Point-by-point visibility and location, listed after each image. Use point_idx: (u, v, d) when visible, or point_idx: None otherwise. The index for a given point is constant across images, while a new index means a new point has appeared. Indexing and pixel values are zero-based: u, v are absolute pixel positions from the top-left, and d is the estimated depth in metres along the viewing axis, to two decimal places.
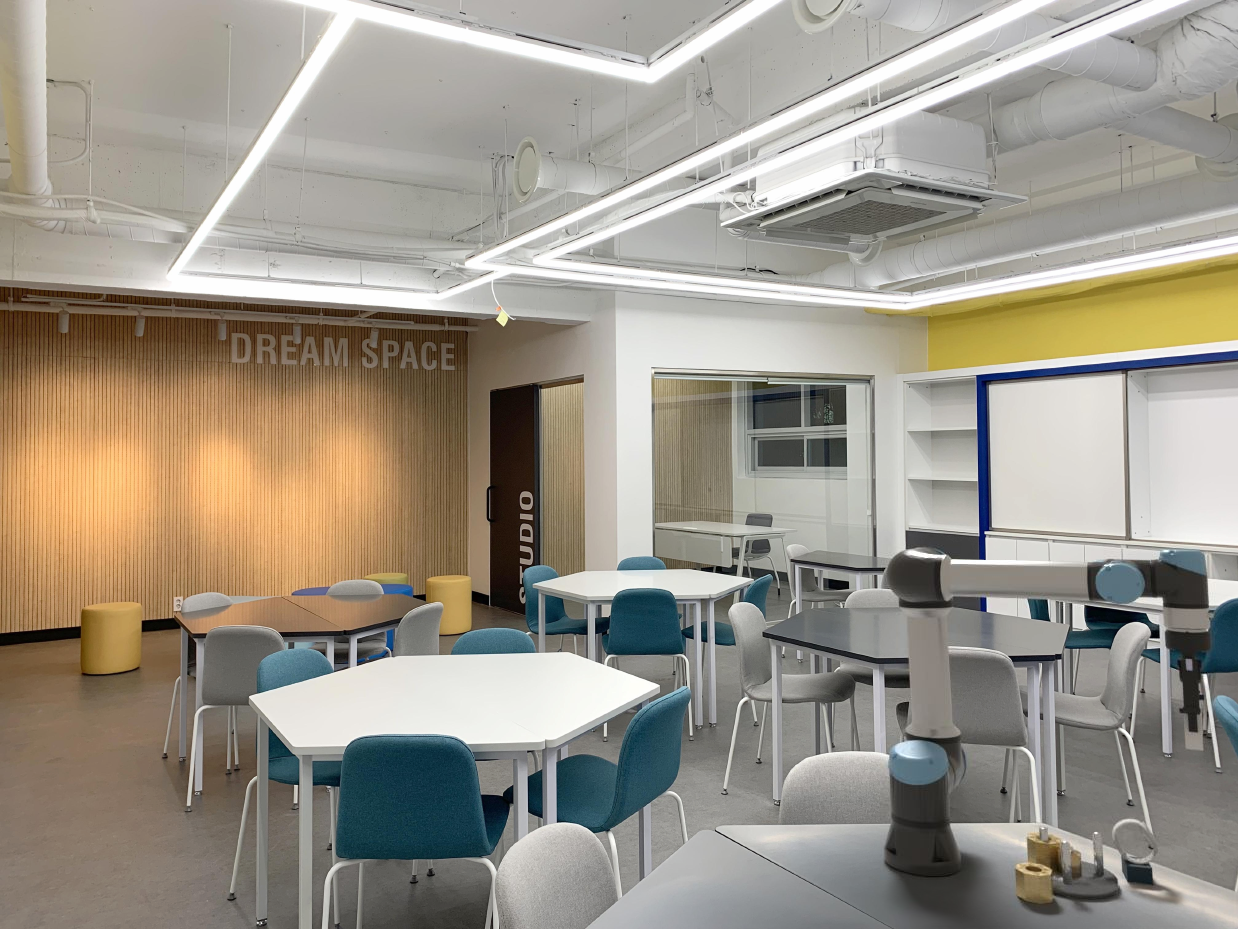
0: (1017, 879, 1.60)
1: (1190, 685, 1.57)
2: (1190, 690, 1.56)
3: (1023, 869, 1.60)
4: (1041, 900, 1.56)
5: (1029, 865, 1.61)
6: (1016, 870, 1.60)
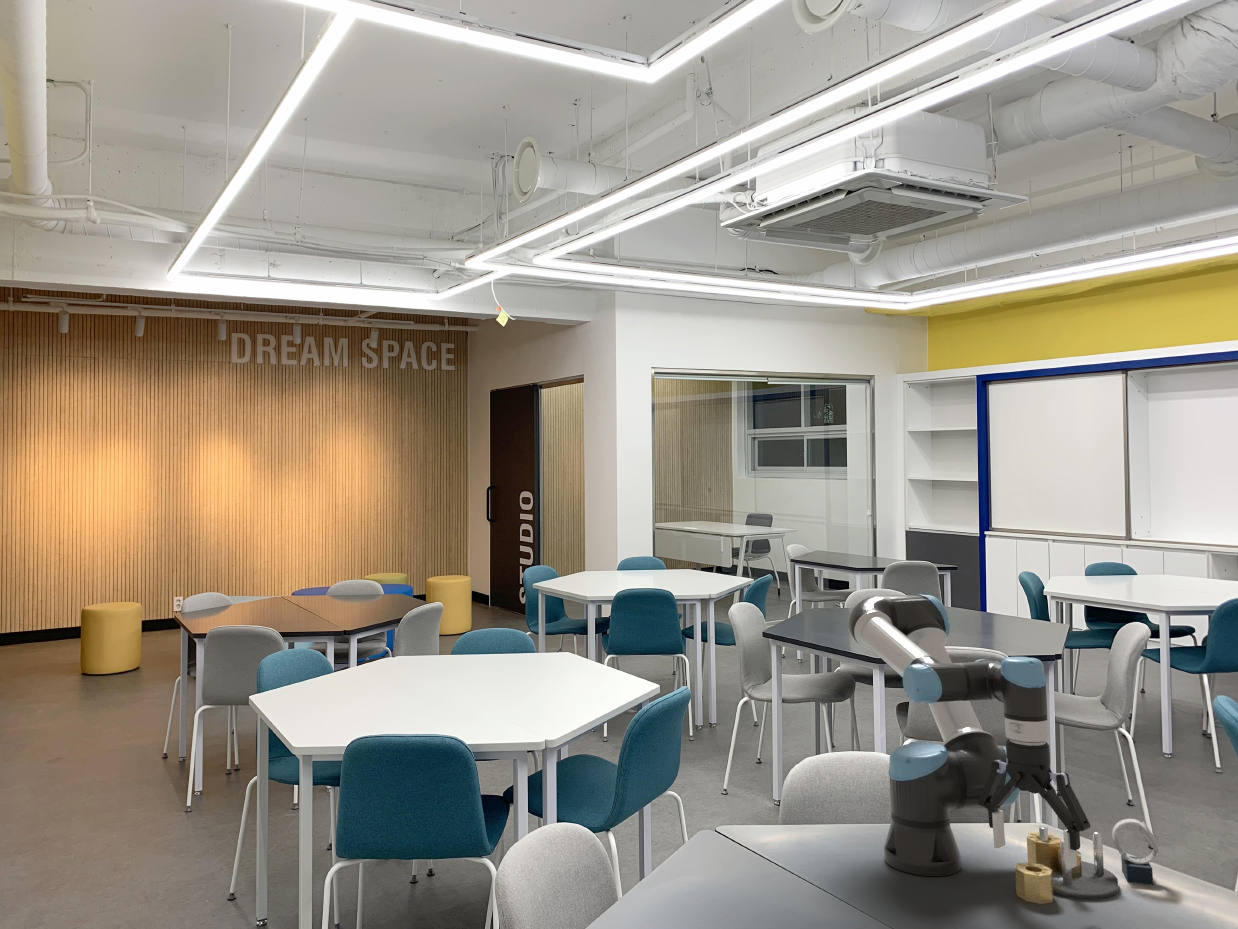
0: (1017, 879, 1.60)
1: None
2: None
3: (1023, 869, 1.60)
4: (1041, 900, 1.56)
5: (1029, 865, 1.61)
6: (1016, 870, 1.60)
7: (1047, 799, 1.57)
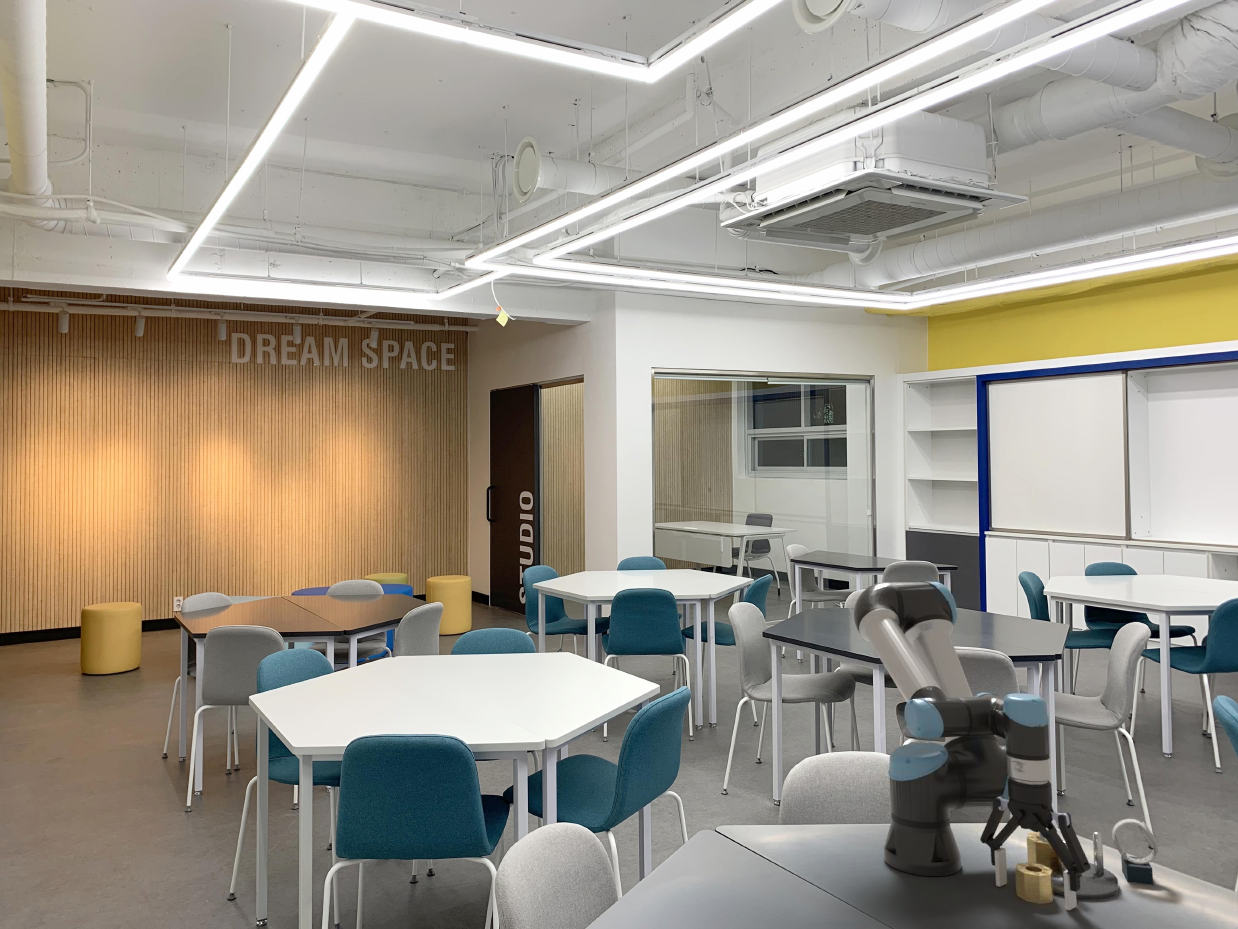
0: (1017, 879, 1.60)
1: None
2: None
3: (1023, 869, 1.60)
4: (1041, 900, 1.56)
5: (1029, 865, 1.61)
6: (1016, 870, 1.60)
7: (1048, 839, 1.56)
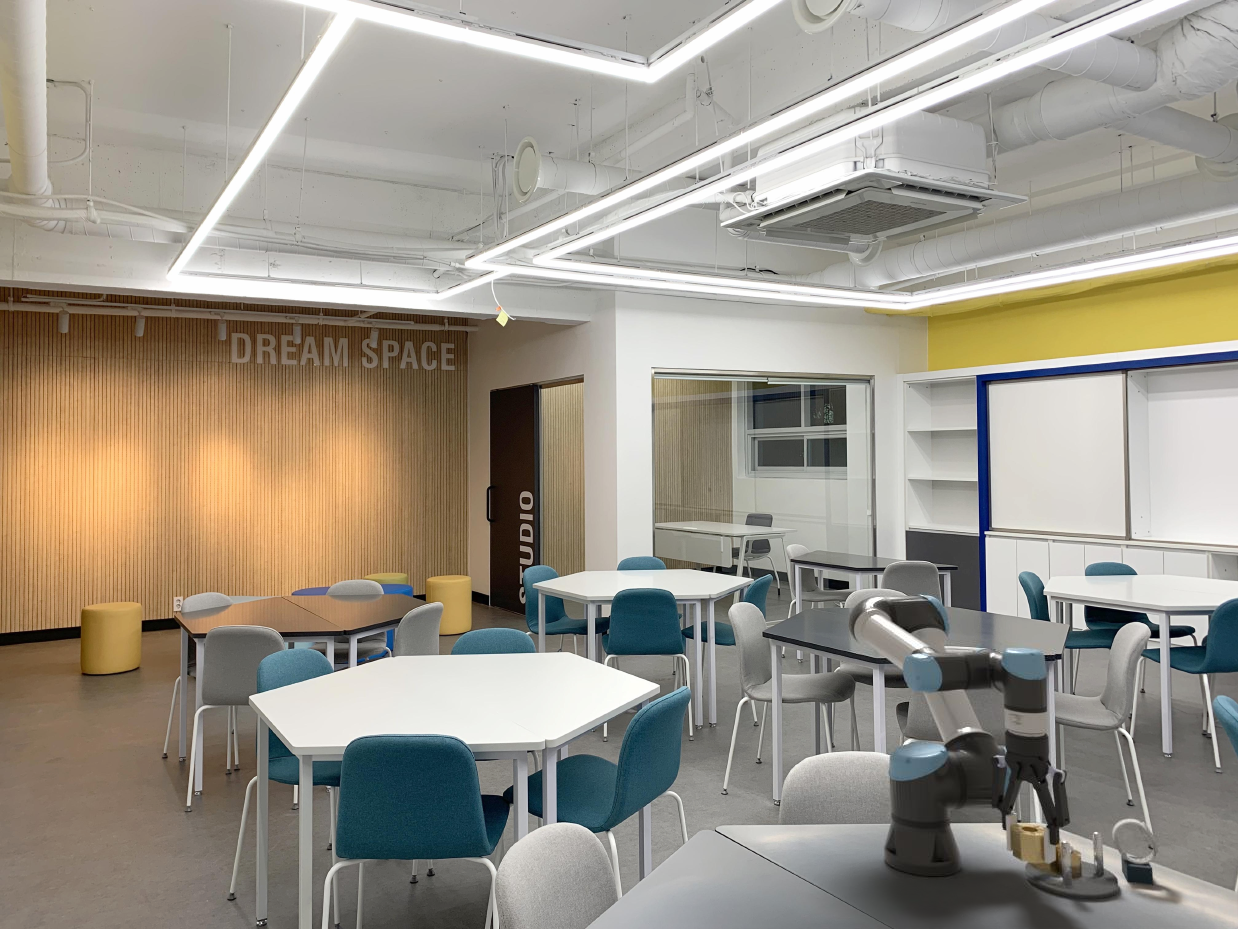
0: (1013, 839, 1.61)
1: None
2: None
3: (1019, 829, 1.61)
4: (1037, 859, 1.57)
5: (1025, 826, 1.62)
6: (1012, 830, 1.61)
7: (1038, 792, 1.58)
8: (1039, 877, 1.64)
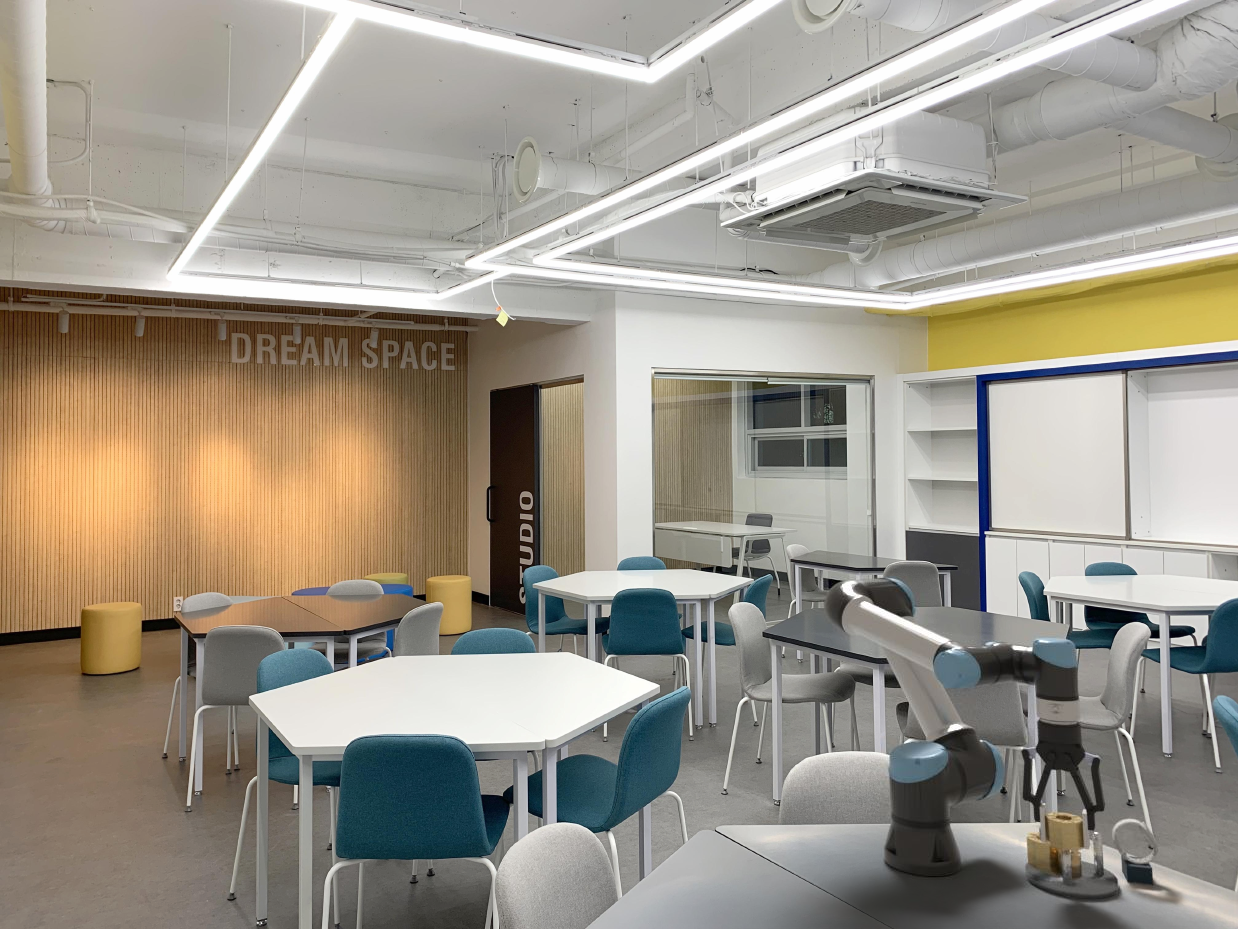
0: (1051, 830, 1.61)
1: None
2: None
3: (1056, 819, 1.61)
4: (1078, 847, 1.59)
5: (1056, 815, 1.64)
6: (1050, 821, 1.61)
7: (1075, 779, 1.60)
8: (1039, 877, 1.64)
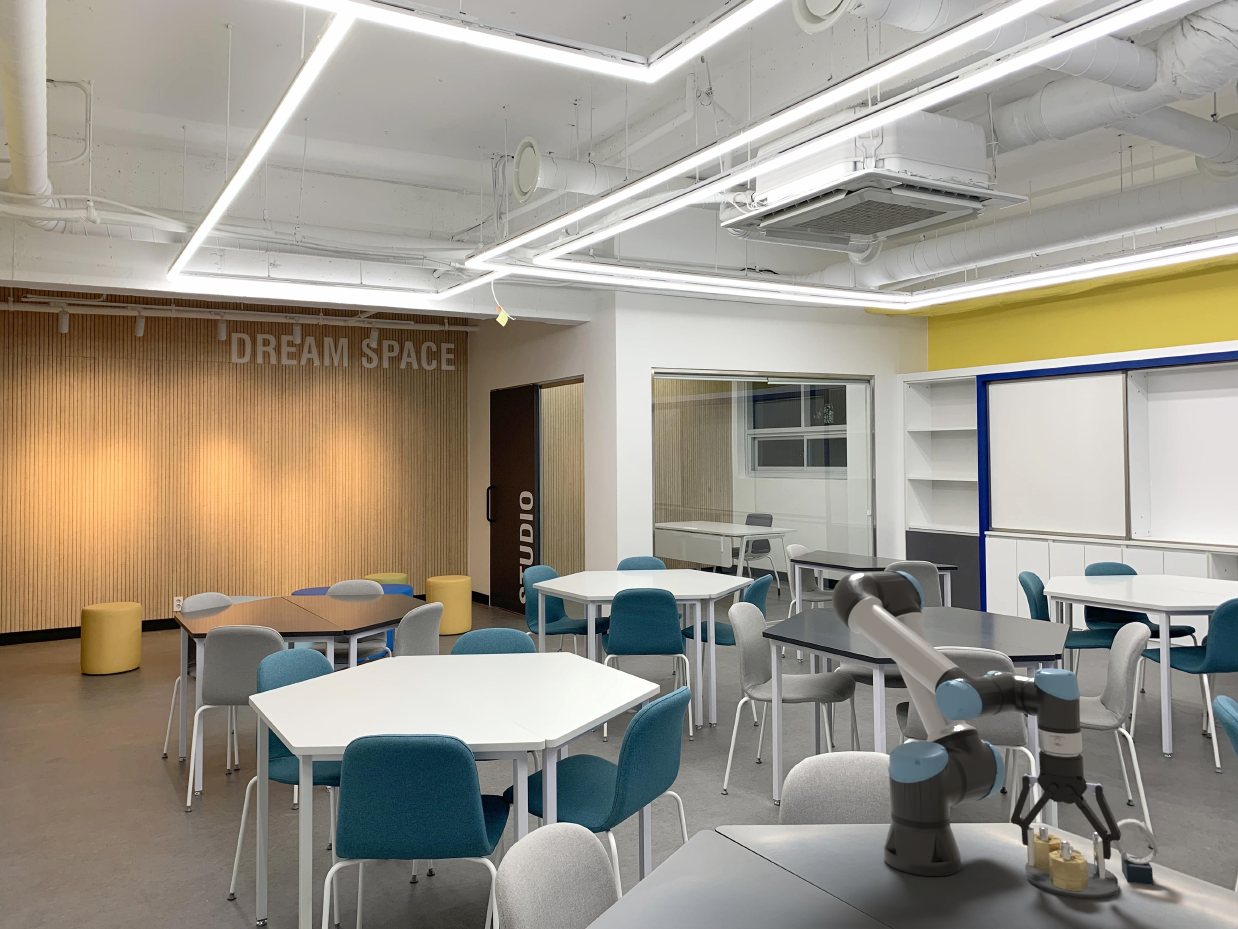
0: (1055, 869, 1.60)
1: None
2: None
3: (1060, 858, 1.61)
4: (1081, 887, 1.58)
5: (1060, 853, 1.63)
6: (1053, 860, 1.61)
7: (1083, 810, 1.59)
8: (1039, 877, 1.64)
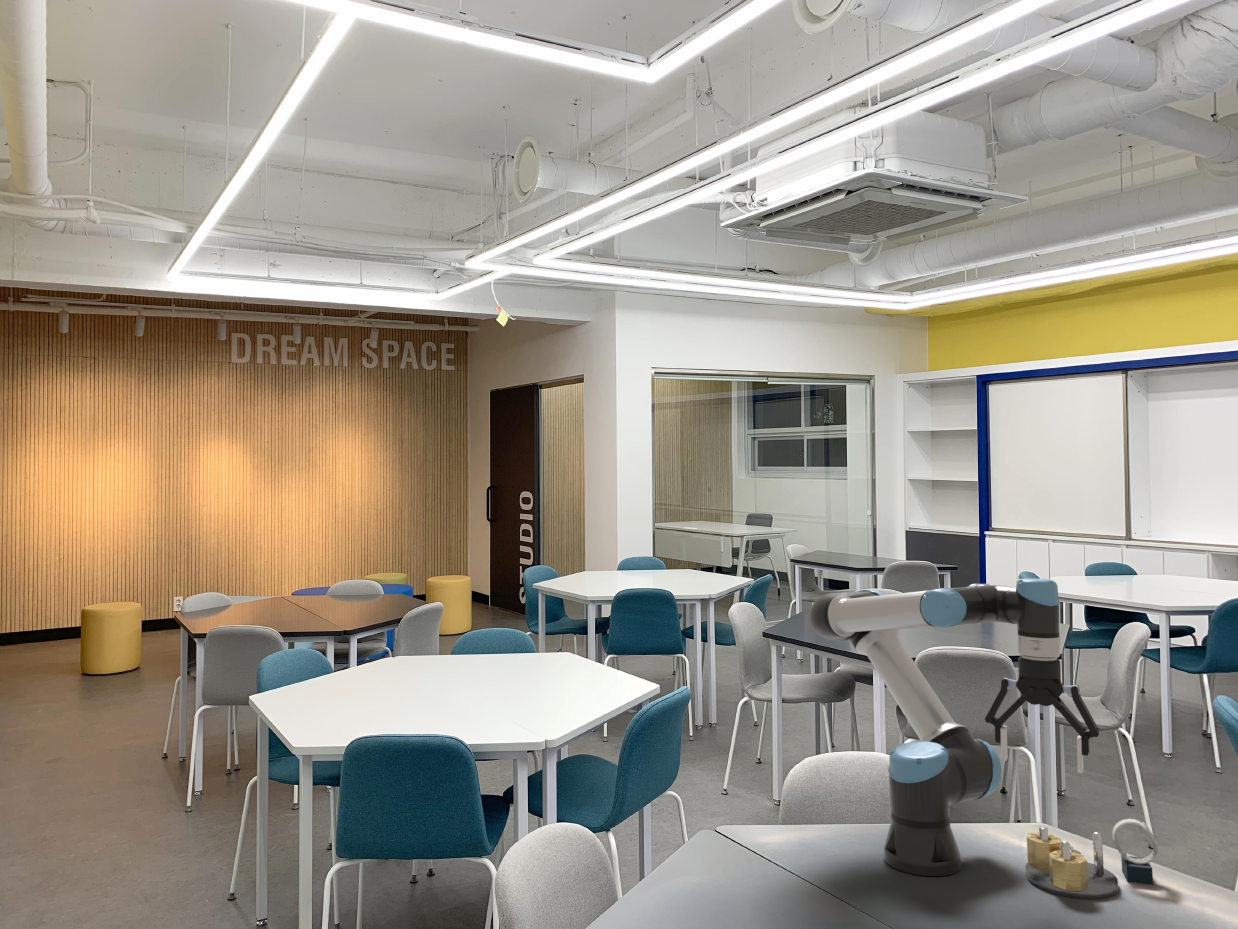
0: (1055, 869, 1.60)
1: None
2: None
3: (1060, 858, 1.61)
4: (1081, 887, 1.58)
5: (1060, 853, 1.63)
6: (1053, 860, 1.61)
7: (1061, 710, 1.65)
8: (1039, 877, 1.64)
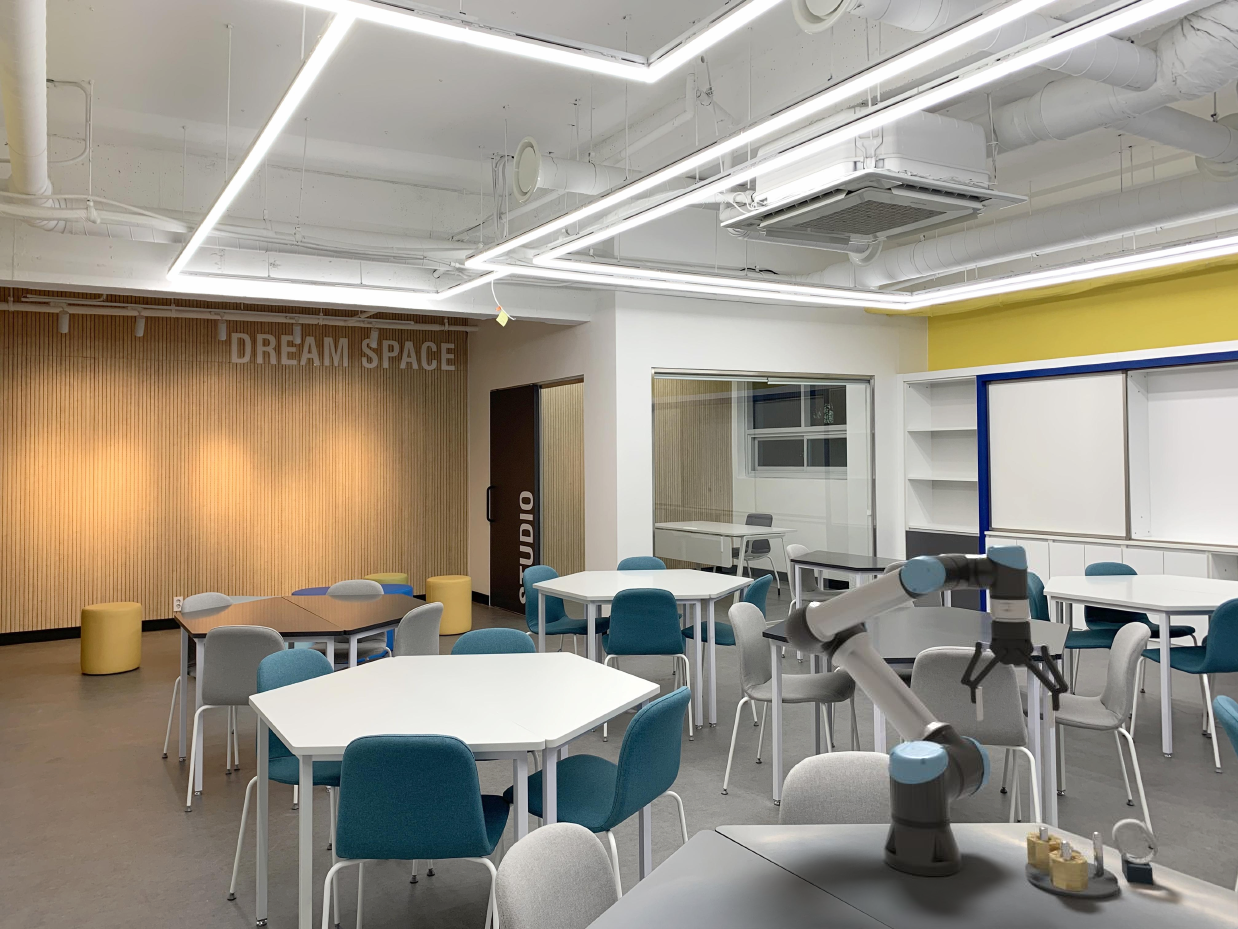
0: (1055, 869, 1.60)
1: None
2: None
3: (1060, 858, 1.61)
4: (1081, 887, 1.58)
5: (1060, 853, 1.63)
6: (1053, 860, 1.61)
7: (1032, 669, 1.73)
8: (1039, 877, 1.64)
